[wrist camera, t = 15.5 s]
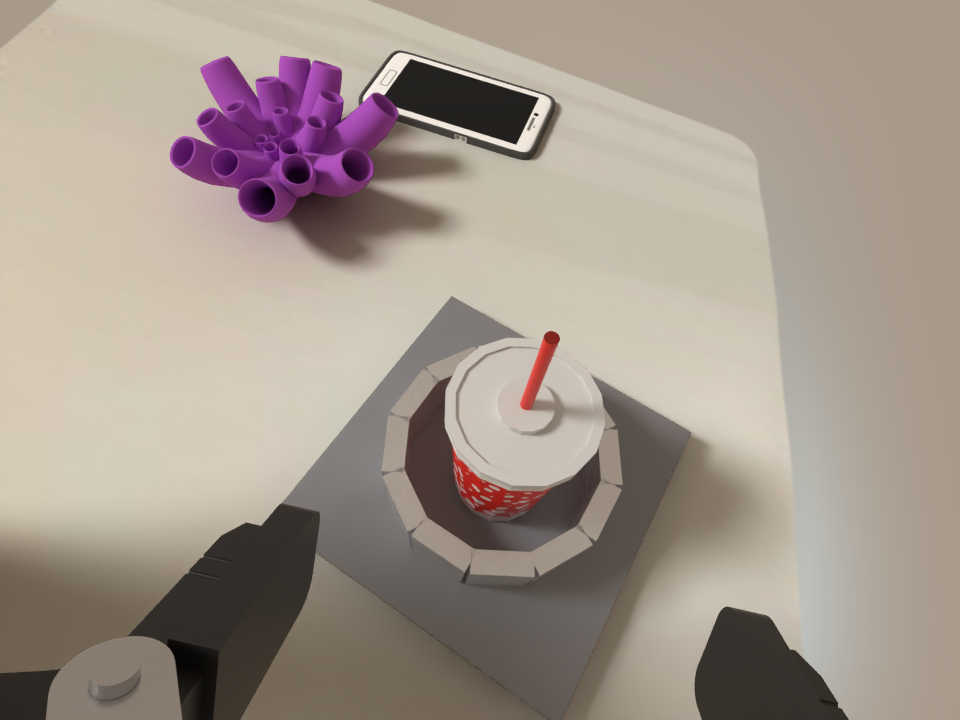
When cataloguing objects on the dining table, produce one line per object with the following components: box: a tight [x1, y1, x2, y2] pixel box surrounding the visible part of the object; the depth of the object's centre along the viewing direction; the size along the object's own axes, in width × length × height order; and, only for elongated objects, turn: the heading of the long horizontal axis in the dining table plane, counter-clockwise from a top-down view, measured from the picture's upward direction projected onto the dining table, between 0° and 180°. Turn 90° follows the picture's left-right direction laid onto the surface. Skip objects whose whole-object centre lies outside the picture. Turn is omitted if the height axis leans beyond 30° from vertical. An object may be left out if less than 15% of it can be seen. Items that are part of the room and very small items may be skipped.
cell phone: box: [359, 51, 555, 160], centre depth 44 cm, size 8×15×1 cm, turn 70°
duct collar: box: [382, 346, 623, 587], centre depth 27 cm, size 11×11×4 cm
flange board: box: [283, 296, 691, 720], centre depth 29 cm, size 16×16×2 cm
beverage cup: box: [445, 331, 605, 521], centre depth 22 cm, size 6×6×14 cm
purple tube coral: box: [170, 56, 399, 222], centre depth 36 cm, size 11×15×10 cm
